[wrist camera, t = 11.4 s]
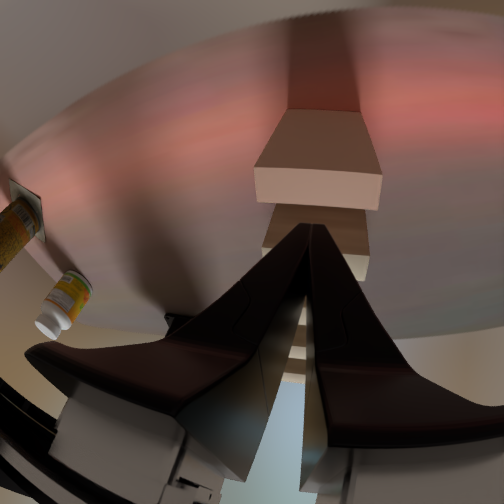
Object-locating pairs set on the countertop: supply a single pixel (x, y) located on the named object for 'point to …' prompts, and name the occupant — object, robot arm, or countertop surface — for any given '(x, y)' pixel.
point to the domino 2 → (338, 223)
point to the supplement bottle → (63, 304)
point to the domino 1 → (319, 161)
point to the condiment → (19, 223)
